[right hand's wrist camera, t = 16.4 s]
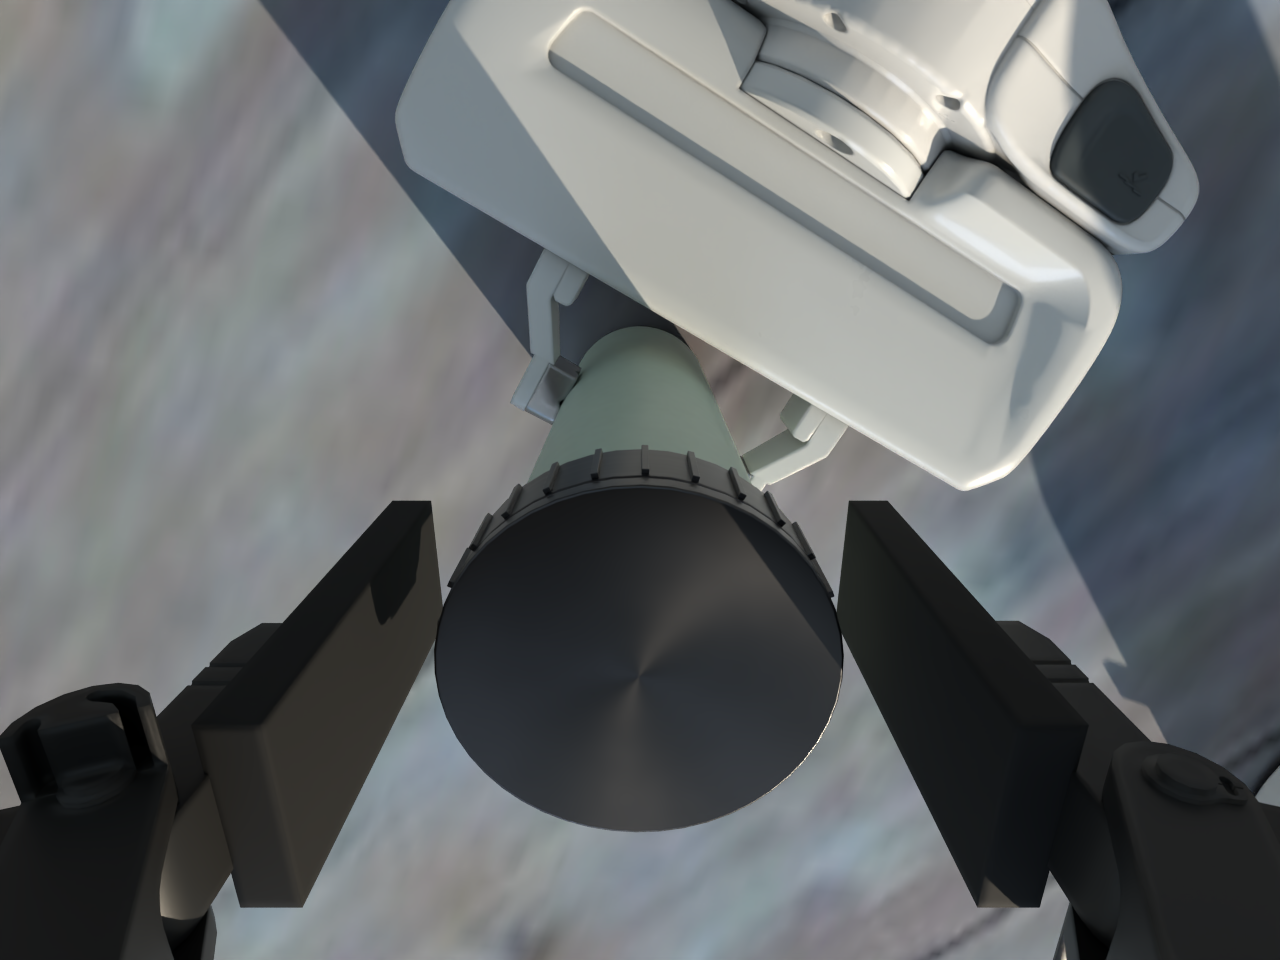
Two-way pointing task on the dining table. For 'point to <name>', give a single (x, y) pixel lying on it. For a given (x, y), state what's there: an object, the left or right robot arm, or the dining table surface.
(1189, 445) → the dining table surface
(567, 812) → the lid
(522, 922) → the dining table surface
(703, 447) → the bottle
